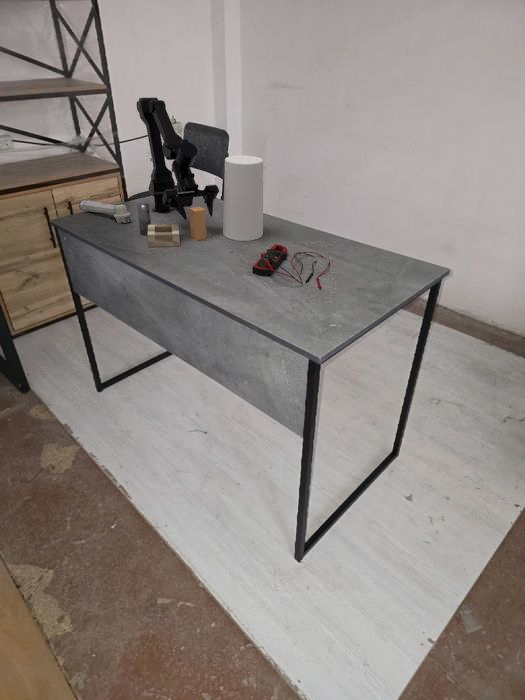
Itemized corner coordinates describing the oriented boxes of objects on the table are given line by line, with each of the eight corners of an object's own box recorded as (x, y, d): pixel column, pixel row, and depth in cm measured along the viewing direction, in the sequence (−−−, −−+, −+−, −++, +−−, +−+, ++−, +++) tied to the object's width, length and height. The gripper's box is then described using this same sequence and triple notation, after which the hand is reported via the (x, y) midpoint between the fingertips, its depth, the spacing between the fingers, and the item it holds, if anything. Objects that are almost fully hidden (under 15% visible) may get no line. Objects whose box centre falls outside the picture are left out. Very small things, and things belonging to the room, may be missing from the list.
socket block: (149, 236, 158) (148, 224, 156) (178, 235, 160) (178, 224, 158) (148, 247, 150) (147, 235, 148) (179, 246, 152) (179, 234, 150)
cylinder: (256, 165, 142) (215, 160, 146) (254, 243, 156) (216, 237, 160) (271, 157, 153) (232, 152, 157) (268, 230, 167) (232, 225, 171)
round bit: (143, 231, 162) (140, 202, 157) (154, 232, 161) (151, 203, 156) (138, 234, 159) (134, 205, 154) (148, 236, 158) (145, 207, 153)
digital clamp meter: (242, 264, 132) (271, 236, 151) (242, 279, 134) (270, 249, 154) (322, 279, 125) (341, 247, 145) (320, 293, 128) (339, 261, 148)
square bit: (190, 237, 159) (189, 207, 154) (201, 235, 161) (200, 206, 155) (195, 240, 156) (194, 211, 151) (206, 239, 158) (205, 209, 153)
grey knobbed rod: (87, 198, 179) (131, 201, 166) (91, 215, 183) (134, 220, 170) (75, 201, 176) (119, 204, 163) (80, 218, 179) (124, 223, 166)
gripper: (203, 186, 167) (217, 225, 165) (153, 192, 159) (167, 233, 157) (211, 168, 157) (227, 209, 155) (159, 173, 149) (174, 216, 147)
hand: (199, 217), depth 154 cm, fingers open, 9 cm apart
